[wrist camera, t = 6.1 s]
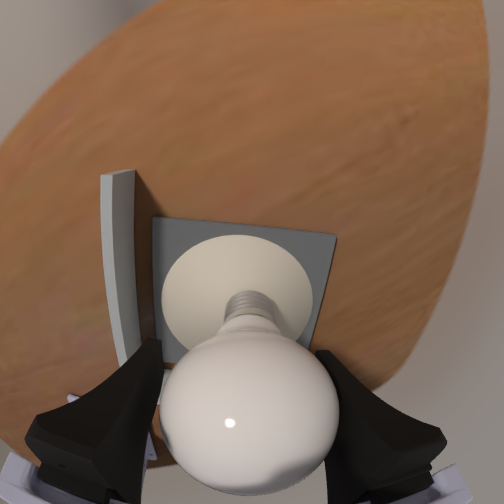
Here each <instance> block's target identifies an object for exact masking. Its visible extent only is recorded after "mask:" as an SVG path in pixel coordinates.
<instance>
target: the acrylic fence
mask: <svg viewBox="0 0 504 504" xmlns="http://www.w3.org/2000/svg"><path fill="white" fill-rule="evenodd" d="M134 188H135V169H124V170H119V171H115V172H111V173H107V174H103V175H101V236H102V252H103V264H104V275H105V284H106V292H107V300H108V307H109V314H110V320H111V326H112V331H113V337H114V342H115V347H116V352H117V357H118V361H119V365H120V367H121V366H122V365H123V364H124V363H125V362H126V361H127V360H128V359H129V358H130V357H131V356H132V355H133V354H134V353H135V352H136V351H137V350H138V349H139V347H140V346H141V345H142V341H141V333H140V325H139V315H138V305H137V292H136V277H135V257H134ZM171 371H172V370H170V369H164V377H163V383H162V388H161V393H162V390H163V387H164V384H165V382H166V379H167V377H168V376H169V374H170V372H171ZM161 393H160V396H159V399H158V403H157V404H158V405H159V404H160V398H161Z"/></svg>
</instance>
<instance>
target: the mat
mask: <svg viewBox="0 0 504 504" xmlns="http://www.w3.org/2000/svg"><path fill="white" fill-rule="evenodd" d="M336 237H337V236H336V235H335V234H329V233H321V232H312V231H303V230H295V229H286V228H276V227H267V226H257V225H247V224H237V223H227V222H216V221H205V220H193V219H181V218H169V217H156V216H154V217H153V226H152V260H153V293H154V312H155V326H156V338H157V339H158V340H162V352H163V362H169V363H176V364H177V362H178V361H179V360H180V359H181V358H182V357H183V356H184V355H185V354H186V353H187V352H188V351H189V350H191V349H192V348H193V347H195V346H196V345H198V344H199V343H201V342H203V341H205V340H206V339H208V338H211V337H213V336H215V335H216V334H217V332H218V330H219V329H220V328H221V327H222V326H223V322H224V316H225V308H226V304H227V302H228V300H229V299H230V298H231V297H232V296H233V295H234V294H236V293H238V292H240V291H244V290H254V291H258V292H261V293H263V294H264V295H266V296H267V297H268V298H269V299H270V300H271V302H272V304H273V308H274V316H275V324H276V326H277V327H278V328H279V329H280V331H281V332H282V334H283V336H285V337H288V338H290V339H292V340H294V341H295V342H297V343H299V344H300V345H302V346H303V347H305V348H306V349H307V350H308V348H309V344H310V341H311V338H312V334H313V331H314V327H315V323H316V320H317V316H318V312H319V309H320V305H321V301H322V297H323V293H324V289H325V285H326V281H327V277H328V273H329V269H330V264H331V260H332V255H333V251H334V246H335V242H336Z"/></svg>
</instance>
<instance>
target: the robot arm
mask: <svg viewBox="0 0 504 504" xmlns="http://www.w3.org/2000/svg"><path fill="white" fill-rule="evenodd" d="M315 357H316V358H317V359H318V360H319V361H320V362H321V363H322V365H323V366H324V367H325V369H326V370H327V372H328V373H329V375H330V377H331V379H332V381H333V383H334V386H335V388H336V391H337V395H338V400H339V408H340V418H339V426H338V431H337V435H336V438H335V441H334V443H333V445H332V448H331V450H330V451H329V453H328V455H327V456H326V458H325V459H324V461H325V469H326V480H327V495H328V504H467V503H468V502H469V501H471V500H472V499H473V497H472V495H471V493H470V491H469V489H468V487H467V485H466V483H465V481H464V479H463V477H462V475H461V473H460V471H459V469H458V467H457V465H456V464H452V465H450V466H449V467H446V468H444V469H442V470H440V471H438V472H437V473H435V474H433V475H432V476H431V474H430V472H429V471H430V470H431V469H432V466H431V464H430V462H431V461H432V460H434V459H435V458H436V457H437V456H438V455H439V454H440V453H441V452H442V451H443V449H444V448H445V447H446V445H447V440H446V438H445V436H444V435H443V433H442V432H441V430H440V428H438V427H435V426H433V425H429V424H427V423H423V422H421V421H419V420H416V419H414V418H412V417H410V416H408V415H406V414H404V413H402V412H400V411H398V410H397V409H395V408H393V407H392V406H390V405H388V404H387V403H386V402H384V401H383V400H381V399H380V398H379V397H377V396H376V395H375V394H373V393H372V392H371V391H370V390H369V389H367V388H366V387H365V386H364V385H363V384H362V383H361V382H360V381H358V380H357V379H356V378H355V377H354V376H353V375H352V374H351V373H350V372H349V371H348V370H347V369H346V368H345V367H344V366H343V365H342V364H341V362H340V361H339V360H338V359H337V358H336V357H335V356H334V355H333V354H332V353H331V352H330V351H329V350H316V353H315ZM163 377H164V363H163V352H162V340H158V339H151V338H148V339H147V340H146V341H145V342H144V343H143V344H142V345H141V346H140V347H139V349H138V350H137V351H136V352H135V353H134V354H133V355H132V356H131V357H130V358H129V359H128V360H127V361H126V362H125V363H124V364H123V365H122V366H121V367H120V368H119V369H118V370H117V371H115V372H114V373H113V374H112V375H111V376H110V377H109V378H107V379H106V380H105V381H104V382H102V383H101V384H100V385H98V386H97V387H96V388H94V389H93V390H91V391H90V392H88V393H86V394H85V395H83V396H81V397H77V396H74V395H71V394H69V395H68V397H67V399H68V401H69V403H68V404H66V405H64V406H61V407H59V408H57V409H54V410H51V411H48V412H45V413H42V414H39V415H37V416H36V417H35V419H34V420H33V422H32V424H31V426H30V428H29V430H28V432H27V434H26V436H25V442H26V444H27V446H28V447H29V448H30V449H31V451H32V452H33V453H34V454H35V455H36V456H37V457H38V459H39V460H40V461H41V462H42V463H41V465H40V468H39V467H37V466H36V465H35V464H34V463H32V462H31V461H29V460H27V459H25V458H23V457H22V456H20V455H18V454H16V453H14V452H12V451H11V452H10V453H9V455H8V458H7V460H6V462H5V464H4V467H3V469H2V471H1V474H0V497H1V498H2V499H3V500H5V501H6V502H8V503H9V504H141V494H142V488H143V482H144V477H145V472H146V466H147V461H148V459H150V460H157V455H156V452H155V449H154V445H153V442H152V439H151V435H150V432H149V429H150V425H151V422H152V419H153V416H154V412H155V409H156V406H157V403H158V399H159V396H160V393H161V388H162V383H163Z"/></svg>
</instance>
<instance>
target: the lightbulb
mask: <svg viewBox="0 0 504 504" xmlns="http://www.w3.org/2000/svg"><path fill="white" fill-rule="evenodd" d="M339 418H340V408H339V400H338V395H337V391H336V388H335V386H334V383H333V381H332V379H331V377H330V375H329V373H328V372H327V370H326V369H325V367H324V366H323V365H322V363H321V362H320V361H319V360H318V359H317V358H316V357H315V356H314V355H313V354H312V353H311V352H310V351H309V350H307V349H306V348H305V347H303V346H302V345H300V344H299V343H297V342H295V341H294V340H292V339H290V338H288V337H285V336H283V334H282V332H281V331H280V329H279V328H278V327H277V326H276V324H275V316H274V308H273V304H272V302H271V300H270V299H269V298H268V297H267V296H266V295H264V294H263V293H261V292H258V291H254V290H244V291H240V292H238V293H236V294H234V295H233V296H232V297H231V298H230V299H229V300H228V302H227V304H226V308H225V316H224V322H223V326H222V327H221V328H220V329H219V330H218V332H217V334H216V335H215V336H213V337H211V338H208V339H206V340H205V341H203V342H201V343H199V344H198V345H196V346H195V347H193V348H192V349H191V350H189V351H188V352H187V353H186V354H185V355H184V356H183V357H182V358H181V359H180V360H179V361H178V362H177V364H176V365H175V366H174V368H173V369H172V371H171V372H170V374H169V376H168V377H167V379H166V382H165V384H164V387H163V390H162V393H161V398H160V404H159V421H160V428H161V432H162V436H163V439H164V441H165V444H166V446H167V448H168V450H169V452H170V453H171V455H172V456H173V458H174V459H175V461H176V462H177V463H178V464H179V465H180V467H181V468H182V469H183V470H184V471H186V472H187V473H188V474H189V475H190V476H191V477H193V478H194V479H195V480H197V481H199V482H201V483H202V484H204V485H206V486H208V487H210V488H212V489H215V490H218V491H221V492H224V493H228V494H233V495H241V496H257V495H266V494H271V493H274V492H278V491H281V490H284V489H287V488H289V487H291V486H293V485H295V484H297V483H299V482H300V481H302V480H303V479H305V478H306V477H307V476H309V475H310V474H311V473H312V472H313V471H315V469H317V467H318V466H319V465H320V464H321V463H322V462H323V460H324V459H325V458H326V456H327V455H328V453H329V451H330V450H331V448H332V445H333V443H334V441H335V438H336V435H337V431H338V426H339Z"/></svg>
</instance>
